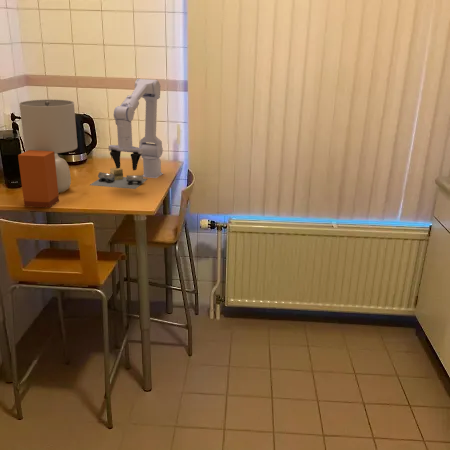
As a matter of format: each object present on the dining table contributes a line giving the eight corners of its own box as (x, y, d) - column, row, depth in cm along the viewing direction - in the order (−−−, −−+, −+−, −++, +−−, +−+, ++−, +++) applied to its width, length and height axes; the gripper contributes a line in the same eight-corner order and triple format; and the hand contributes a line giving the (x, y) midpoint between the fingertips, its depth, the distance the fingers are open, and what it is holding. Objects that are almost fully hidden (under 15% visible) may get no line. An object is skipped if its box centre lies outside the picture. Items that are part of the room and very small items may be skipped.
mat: (104, 176, 229) (104, 175, 229) (147, 180, 226) (147, 178, 226) (89, 186, 215) (89, 185, 214) (135, 190, 211) (135, 188, 211)
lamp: (28, 199, 196) (16, 105, 183) (32, 185, 214) (21, 98, 201) (81, 196, 201) (73, 104, 188) (81, 182, 219) (73, 97, 206)
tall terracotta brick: (59, 200, 196) (54, 150, 189) (49, 208, 188) (44, 156, 181) (35, 198, 197) (29, 149, 190) (24, 206, 189) (17, 155, 181)
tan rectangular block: (110, 178, 225) (110, 168, 223) (119, 176, 227) (118, 167, 226) (114, 180, 222) (113, 170, 220) (123, 179, 224) (122, 169, 222)
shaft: (115, 182, 221) (115, 173, 219) (110, 184, 217) (109, 175, 216) (103, 180, 224) (102, 171, 222) (97, 182, 220) (96, 173, 219)
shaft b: (126, 186, 216) (126, 176, 215) (127, 183, 220) (127, 174, 218) (142, 186, 217) (142, 176, 215) (143, 183, 220) (143, 174, 219)
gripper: (103, 136, 199) (106, 169, 204) (136, 139, 195) (137, 173, 200) (112, 133, 205) (114, 165, 210) (144, 136, 201) (145, 168, 206)
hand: (126, 168), depth 206 cm, fingers open, 7 cm apart
